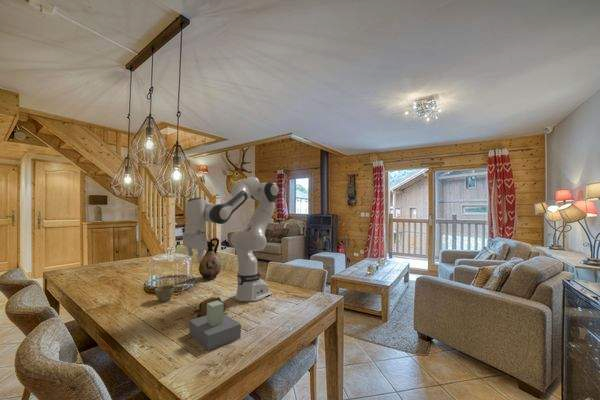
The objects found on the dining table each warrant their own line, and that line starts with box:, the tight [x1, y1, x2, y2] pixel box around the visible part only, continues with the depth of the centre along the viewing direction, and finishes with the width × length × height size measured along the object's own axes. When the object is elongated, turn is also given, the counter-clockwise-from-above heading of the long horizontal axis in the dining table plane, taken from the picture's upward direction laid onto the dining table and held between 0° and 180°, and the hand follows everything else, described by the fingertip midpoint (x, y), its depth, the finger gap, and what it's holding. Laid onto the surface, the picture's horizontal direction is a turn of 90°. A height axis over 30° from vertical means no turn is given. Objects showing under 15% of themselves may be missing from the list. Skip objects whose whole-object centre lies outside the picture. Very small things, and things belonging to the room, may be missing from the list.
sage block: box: [207, 301, 225, 326], centre depth 110 cm, size 5×5×8 cm
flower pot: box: [154, 284, 176, 303], centre depth 150 cm, size 10×10×7 cm
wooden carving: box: [193, 296, 228, 318], centre depth 128 cm, size 16×5×10 cm, turn 141°
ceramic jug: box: [198, 237, 222, 281], centre depth 196 cm, size 17×15×30 cm
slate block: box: [188, 313, 242, 351], centre depth 111 cm, size 14×18×6 cm
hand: (194, 257), depth 133 cm, fingers open, 8 cm apart
